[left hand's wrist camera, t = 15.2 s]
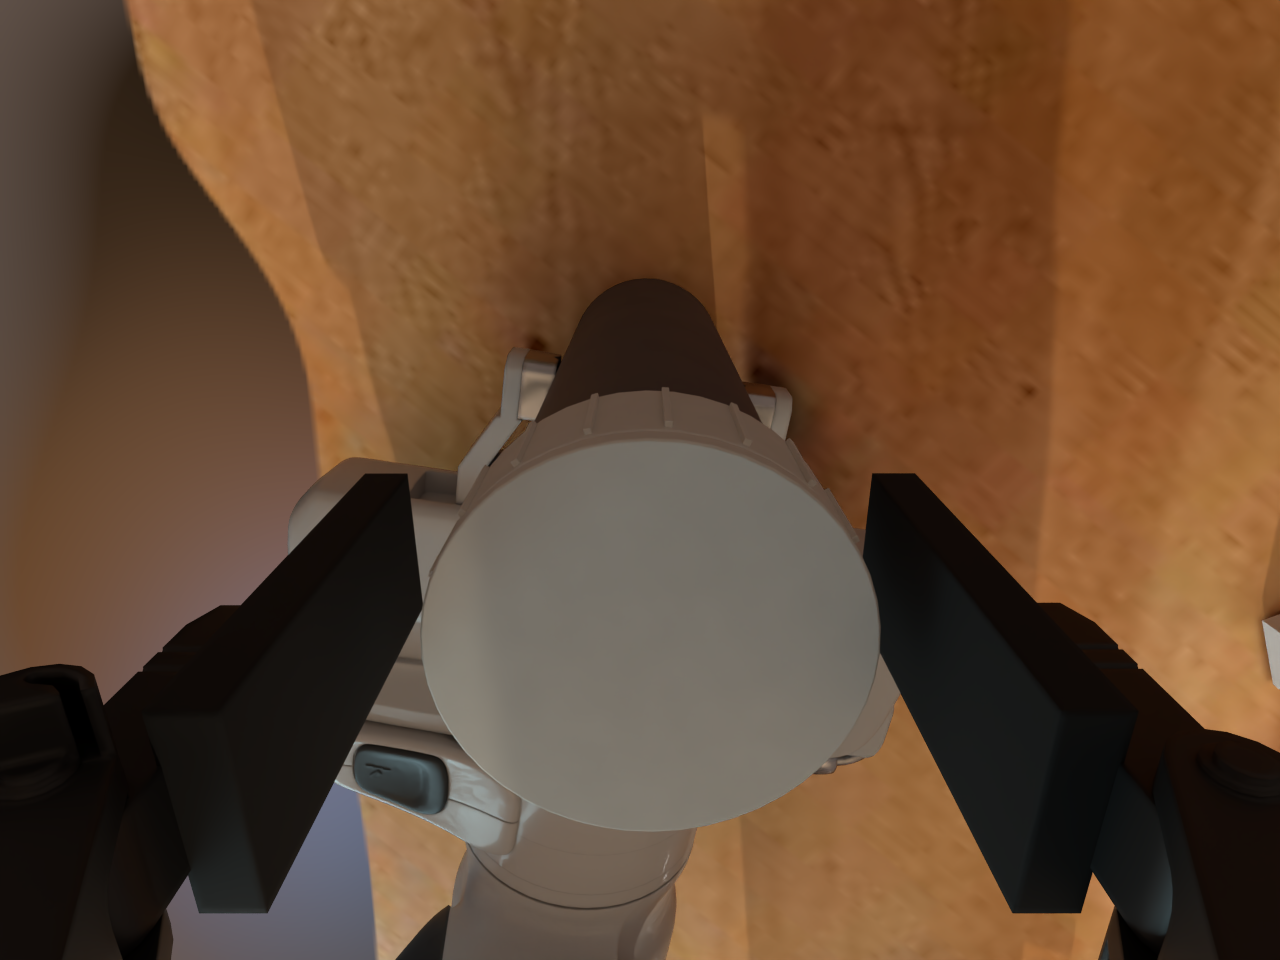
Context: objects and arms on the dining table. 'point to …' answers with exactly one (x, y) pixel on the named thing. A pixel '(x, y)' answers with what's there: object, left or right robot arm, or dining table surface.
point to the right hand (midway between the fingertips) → (649, 370)
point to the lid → (650, 615)
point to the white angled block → (1273, 646)
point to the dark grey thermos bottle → (646, 350)
